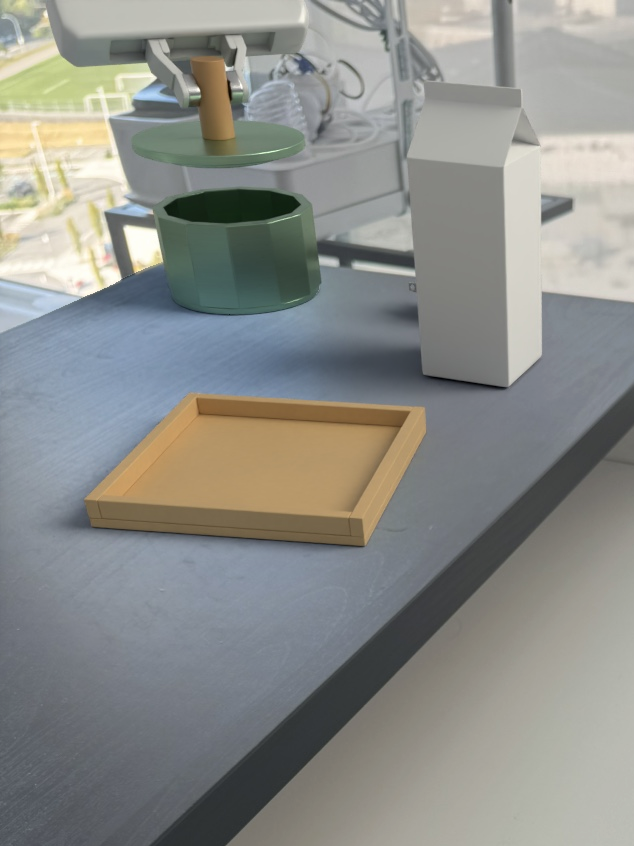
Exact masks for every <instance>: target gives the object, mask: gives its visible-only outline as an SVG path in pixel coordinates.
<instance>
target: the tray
mask: <svg viewBox="0 0 634 846" xmlns="http://www.w3.org/2000/svg"><path fill="white" fill-rule="evenodd" d="M426 434H427V420H426V408H425V406H410V405H409V406H408V405H392V404H377V403H376V404H375V403H360V402H346V401H345V402H344V401H343V402H342V401H327V400H313V399H312V400H311V399H295V398H283V397H282V398H279V397H264V396H249V395H231V394H217V393H216V394H215V393H201V392H200V393H199V392H188V393H187V394H186V395H185V396H184V397H183V398H182V399H181V400H180V401H179V402H178V403H177V404H176V405H175V406H174V407H173V408H172V410H170V411H169V413H168V414H167V415H165V416H164V418H162V419H161V420H160V422H158V424H157V425H155V427H154V428H153V429H151V431H150V432H149V433H148V434H147V435H146V436H144V438H143V439H142V440H141V441H140V442H139V443H138V444H136V445H135V447H134V448H133V449H132V450H131V451H130V452H129V453H128V454H127V455H126V456H125V457H124V458H123V459H122V460H121V461H120V462H119V463H118V464H117V465H116V466H115V467H114V468H113V469H112V470H111V471H110V472H109V473H108V474H107V475H106V476H105V477H104V478H103V480H101V481H100V482H99V483H98V485H97V486H95V487H94V489H92V490H91V492H90V493H88V494H87V495H86V497H84V498H83V501H84V505H85V508H86V509H85V510H86V512H87V515H88V518H89V523H90V526H91V527H92V528H103V529H116V530H130V531H131V530H132V531H145V532H158V533H171V534H173V533H175V534H189V535H203V536H213V537H214V536H215V537H229V538H230V537H231V538H245V539H258V540H273V541H275V540H276V541H285V542H298V543H299V542H301V543H314V544H315V543H316V544H328V545H340V546H341V545H343V546H344V545H345V546H356V547H357V546H358V547H366V545H367V544H368V542H369V540H370V538H371V537H372V535H373V532H374V531H375V529H376V527H377V526H378V524H379V521H380V520H381V517H382V516H383V514H384V513H385V510H386V508H387V507H388V505H389V503H390V500H392V497H393V495H394V493H395V491H397V488H398V486H399V484H400V482H401V480H402V479H403V477H404V475H405V474H406V473H405V472H406V471H407V470H408V467H409V466H410V463H411V462H412V460H413V458H414V456H415V454H416V452H417V451H418V448H419V447H420V446H421V443H422V441H423V439H424V437H425V435H426Z"/></svg>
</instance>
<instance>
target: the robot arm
mask: <svg viewBox="0 0 634 846" xmlns="http://www.w3.org/2000/svg"><path fill="white" fill-rule="evenodd" d="M44 3H45V8H46V13H47V17H48V22H49V26H50V29H51V33H52V35H53V39H54V41H55V45H56V47H57V50H58V53H59V55H60V56H61V57H62V58H63V59H64V60H66V61H67V62H68V63H69V64H71V65H72V66H74V67H76V68H88V67H89V68H90V67H104V66H117V65H118V66H119V65H133V64H137V65H138V64H147V66H148V69H149V70H150V73H151V74H152V75H153V76H154V77H155V78H157V79H158V80H159V81H160V82H161V83H163V84H164V85H165V86H166V87H167V88H168V89H169V90H171V91H172V92H173V93H174V96H175V98H176V101H177V103H178V106H179V107H180V109H189V108H198V107H199V106H200V102H199V101H200V100H201V92H200V89H199V86H197V85H196V79H195V77H194V75H193V74H192V73H184V72H183V71H182V70H181V69H180V68H179V67H178V66H176V65H175V63H174V62H180V61H184V62H185V61H190V58H193V57H200V56H215V57H221V58H223V59H224V63H225V67H227V68H233V69H232V70H226V77H227V84H228V90H229V97H230V104H231V105H239V104H247V103H248V101H249V97H250V89H249V85H248V83H247V82H248V81H247V80H246V77H245V74H244V67H245V61H246V57H258V56H259V57H261V56H276V55H294V54H297V53H299V52H300V51H301V49H302V47H303V45H304V43H305V41H306V37H307V34H308V31H309V27H310V13H309V9H308V6H307V4H306V1H305V0H44Z"/></svg>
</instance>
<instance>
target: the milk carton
mask: <svg viewBox="0 0 634 846" xmlns="http://www.w3.org/2000/svg"><path fill="white" fill-rule="evenodd" d="M423 90H424V91H423V92H424V93H423V94H424V100H423V103H422V105H421V109H420V112H419V116H418V119H417V122H416V126H415V129H414V131H413V132H414V133H413V134H412V138H411V142H410V144H409V148H408V151H407V154H406V163H407V164H406V165H407V177H408V193H409V206H410V218H411V219H410V221H411V235H412V247H413V248H412V249H413V261H414V272H415V273H414V275H415V283H416V290H417V293H416V303H417V316H418V330H419V341H420V342H419V343H420V356H421V370H422V374H423V375H424V376H429V377H436V378H442V379H449V380H455V381H463V382H468V383H476V384H482V385H488V386H496V387H503V388H509V387H510V386H512V385H513V384H514V383H515V382H516V381H517V380H518V379H519V378H520V377H521V376H522V375H523V374H524V373H526V371H528V369H530V368H531V367H532V366H533V365H534V364H535V363H536V362H537V361H538V360H539V359H540V358H541V357H542V356H543V319H542V318H543V312H542V311H543V309H542V308H543V306H542V305H543V301H542V297H543V295H542V291H543V290H542V288H543V287H542V286H543V285H542V284H543V283H542V282H543V281H542V156H541V155H542V154H541V152H542V151H541V147H542V146H541V143H540V141H539V139H538V137H537V135H536V132H535V130H534V128H533V125H532V123H531V121H530V119H529V117H528V115H527V113H526V111H525V108H524V107H523V106H524V105H523V104H524V103H523V101H524V100H523V89H522V88H520V87H508V86H497V85H487V84H486V85H485V84H474V83H473V84H472V83H462V82H450V81H439V80H428V79H427V80H423Z"/></svg>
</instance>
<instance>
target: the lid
mask: <svg viewBox="0 0 634 846" xmlns="http://www.w3.org/2000/svg"><path fill="white" fill-rule="evenodd" d="M189 62H190V69H191V74H193V75H194V77H195V79H196V85H197V86H199V89H200V92H201V100H200V101H199V102H200V106H199V107H197V111H198V118H199V120H195V121H183V122H176V123H169V124H163V125H158V126H153V127H150V128H146V129H143V130H141V131H139V132H137V133H135V134H133V136H131V138H130V143H131V148H132V151H133V152H134V154H136V155H137V156H139V157H142V158H144V159H147V160H151V161H154V162H160V163H165V164H172V165H176V166H181V167H187V168H188V167H189V168H198V169H234V168H245V167H252V166H259V165H263V164H267V163H270V162H271V163H272V162H274V161H277V160H278V161H279V160H282V159H286V158H289V157H292V156H295V155H298V154H299V153H301V152H302V151H303V150H305V148H306V144H307V143H306V137H305V136H306V135H305V134H304V133H303V132H302V131H300V130H299V129H296V128H294V127H291V126H287V125H283V124H279V123H273V122H265V121H257V120H255V121H254V120H239V119H238V120H235V119H233V112H232V111H233V110H232V104H230V97H229V90H228V84H227V77H226V71H227V70H226V64H225V62H224V59H223V58H221V57H215V56H200V57H193V58H190V60H189Z"/></svg>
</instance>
